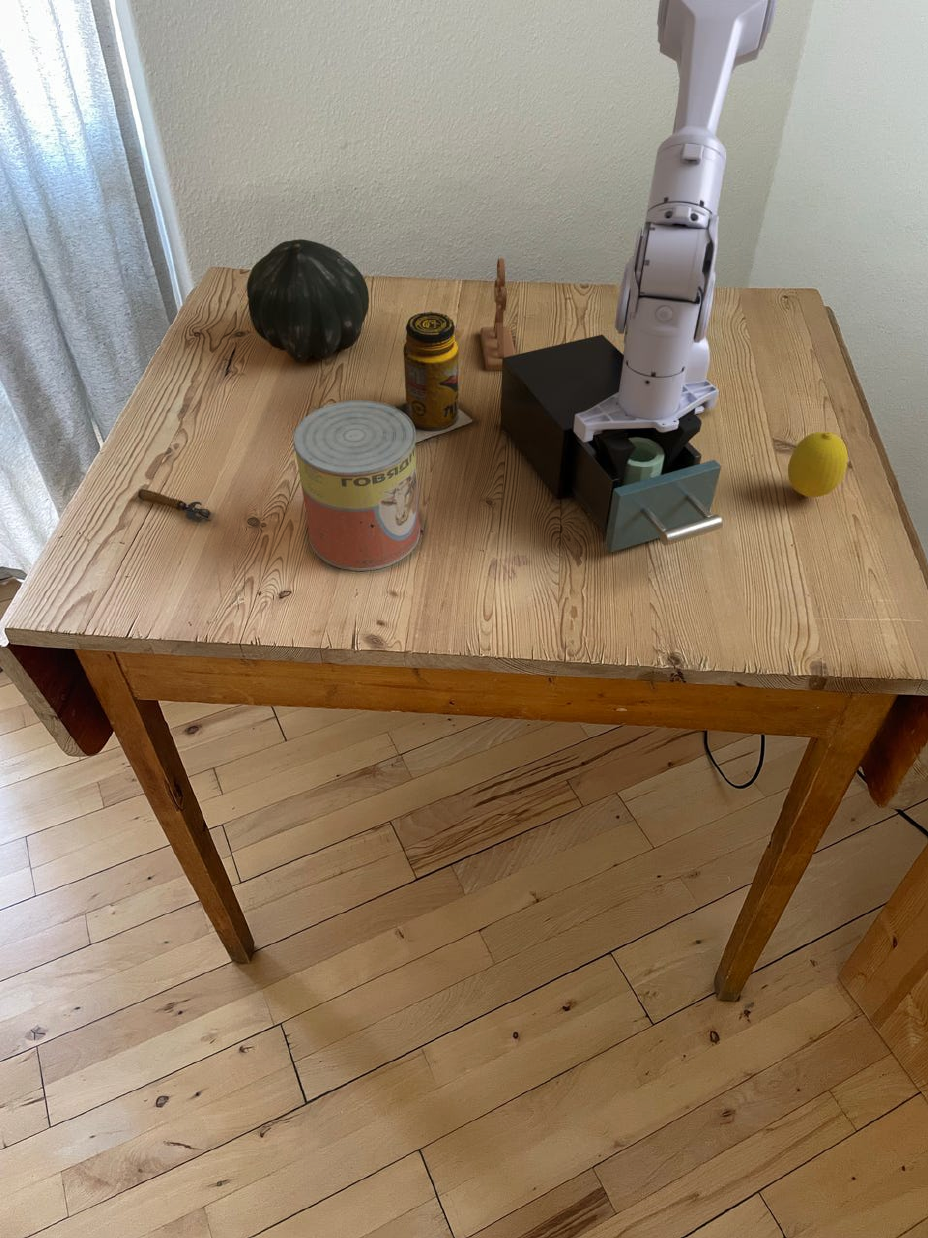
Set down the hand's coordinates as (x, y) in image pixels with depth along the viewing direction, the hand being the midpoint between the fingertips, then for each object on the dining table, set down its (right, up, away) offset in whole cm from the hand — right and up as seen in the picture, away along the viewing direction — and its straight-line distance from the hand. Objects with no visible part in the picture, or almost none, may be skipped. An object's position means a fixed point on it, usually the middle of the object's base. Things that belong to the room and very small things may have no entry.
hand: (634, 479), depth 91 cm
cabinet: (-5, +5, +10) cm, 12 cm away
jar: (0, -1, +1) cm, 2 cm away
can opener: (-47, -3, +3) cm, 47 cm away
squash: (-36, +21, +25) cm, 49 cm away
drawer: (+1, -3, +1) cm, 3 cm away
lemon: (+19, -1, +5) cm, 20 cm away
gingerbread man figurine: (-13, +20, +24) cm, 34 cm away
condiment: (-22, +9, +14) cm, 28 cm away
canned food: (-27, -5, +1) cm, 28 cm away
